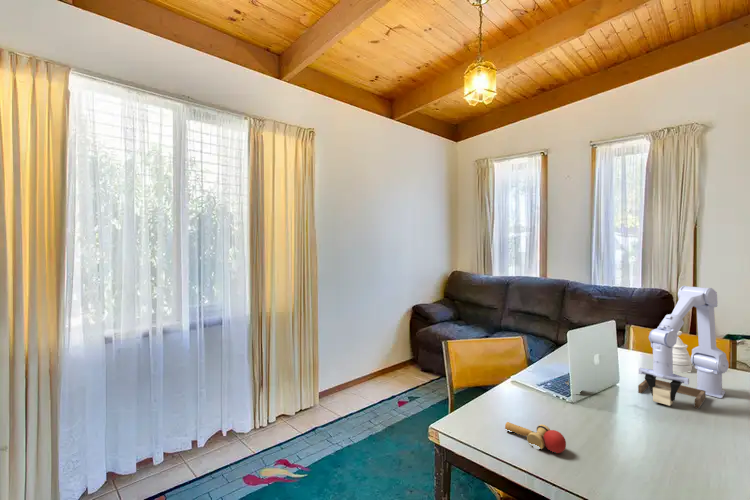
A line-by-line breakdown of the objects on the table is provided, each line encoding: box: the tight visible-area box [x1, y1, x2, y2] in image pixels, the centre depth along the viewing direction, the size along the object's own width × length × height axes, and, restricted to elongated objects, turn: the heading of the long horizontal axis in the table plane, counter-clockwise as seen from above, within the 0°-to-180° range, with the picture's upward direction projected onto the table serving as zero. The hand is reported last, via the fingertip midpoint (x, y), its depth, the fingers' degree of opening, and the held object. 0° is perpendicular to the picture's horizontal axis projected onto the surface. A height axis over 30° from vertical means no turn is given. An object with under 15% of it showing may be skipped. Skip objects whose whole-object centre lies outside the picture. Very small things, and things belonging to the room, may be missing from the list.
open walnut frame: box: [637, 379, 707, 409], centre depth 137 cm, size 13×18×3 cm
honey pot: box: [673, 330, 693, 373], centre depth 166 cm, size 13×13×18 cm
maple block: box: [652, 385, 675, 406], centre depth 130 cm, size 5×5×5 cm
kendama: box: [504, 421, 567, 454], centre depth 106 cm, size 8×6×18 cm
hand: (663, 397), depth 130 cm, fingers closed on maple block, 5 cm apart
